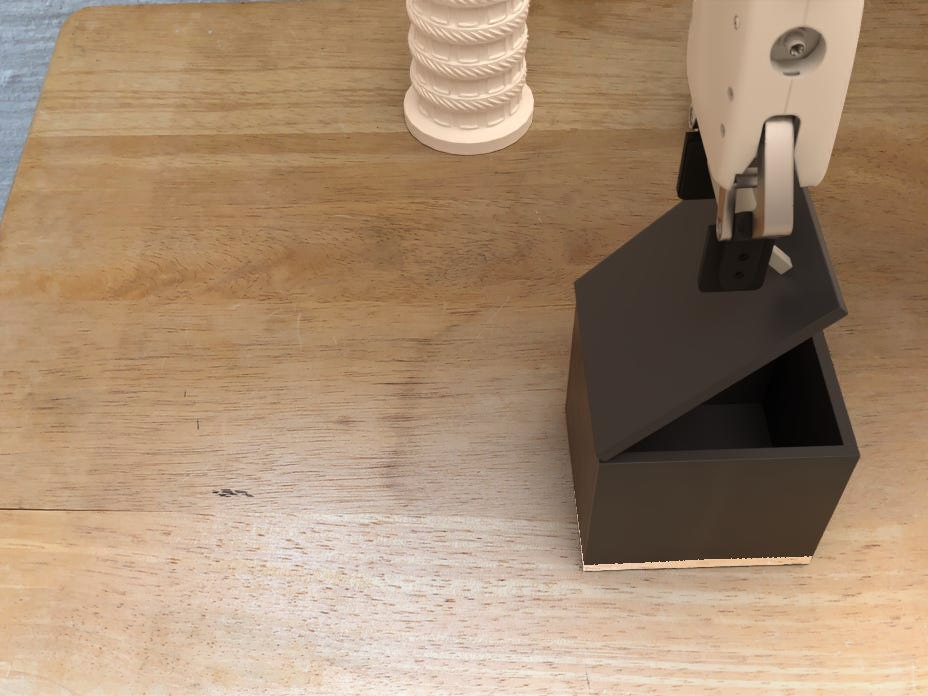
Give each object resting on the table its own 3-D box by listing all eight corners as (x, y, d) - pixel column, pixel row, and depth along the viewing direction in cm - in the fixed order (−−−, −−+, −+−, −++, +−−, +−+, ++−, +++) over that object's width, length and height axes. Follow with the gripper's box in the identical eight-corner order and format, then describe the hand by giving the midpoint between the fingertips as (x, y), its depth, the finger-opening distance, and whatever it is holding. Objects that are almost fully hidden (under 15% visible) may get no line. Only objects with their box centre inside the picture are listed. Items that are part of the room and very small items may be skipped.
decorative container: (536, 154, 95) (547, -48, 80) (402, 156, 95) (389, -44, 81) (530, 73, 102) (539, -126, 87) (405, 75, 102) (393, -123, 87)
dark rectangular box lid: (790, 132, 60) (733, 77, 57) (849, 314, 52) (786, 261, 49) (581, 287, 69) (523, 247, 66) (604, 462, 61) (539, 425, 58)
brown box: (768, 401, 79) (808, 282, 69) (809, 564, 71) (861, 455, 61) (564, 408, 79) (576, 290, 69) (582, 572, 71) (599, 464, 61)
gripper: (959, 13, 37) (827, 362, 52) (839, -219, 47) (757, 130, 62) (737, 24, 37) (668, 370, 52) (664, -210, 47) (623, 136, 62)
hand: (717, 237), depth 57 cm, fingers closed on dark rectangular box lid, 6 cm apart
